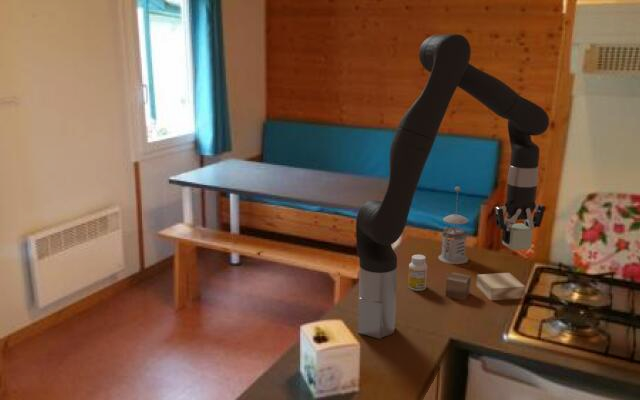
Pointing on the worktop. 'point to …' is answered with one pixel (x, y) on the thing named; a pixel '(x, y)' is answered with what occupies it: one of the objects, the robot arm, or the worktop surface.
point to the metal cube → (458, 286)
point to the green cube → (519, 237)
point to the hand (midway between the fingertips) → (516, 242)
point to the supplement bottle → (417, 273)
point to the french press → (457, 244)
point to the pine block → (500, 286)
